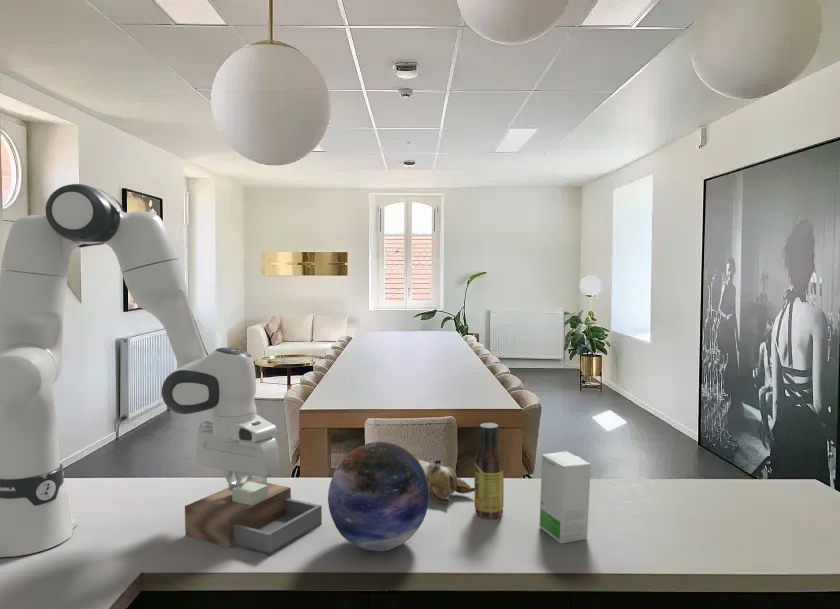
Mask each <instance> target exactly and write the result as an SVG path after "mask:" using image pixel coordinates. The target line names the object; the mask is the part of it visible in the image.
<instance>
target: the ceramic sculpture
mask: <svg viewBox="0 0 840 609" xmlns="http://www.w3.org/2000/svg"><path fill="white" fill-rule="evenodd" d="M416 460H417V461H418V462H419V463H420V465H421V466H422V468H423V470H424V472H425V475H426V478H427V482H428V491H429V494H431V495H432V497H433V499H435V500H436V501H438V502H439V503H440V502H441V503H448V502H450V500H451V499H450V496H452V495H453V494H454V493H455V492H456V493H457V494H458V493H459V494H468V493H473V492H475V487H471V486H470V485H469V484H468V482H466V481H465V480H463V479H461V478H460V477H457V474H456V472H455V470H454V469H453V468H451V467H450V466H448V465H445V464H443V462H442V461H441V460H440V459H439V460H434V461H431V462H428V461H426V460H422V459H421V458H416Z"/></svg>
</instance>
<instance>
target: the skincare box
mask: <svg viewBox="0 0 840 609" xmlns="http://www.w3.org/2000/svg"><path fill="white" fill-rule="evenodd" d="M540 481H541V482H540V501H539V503H540V504H539V528H540V529H541V530H542V531H543V532H545V533H547V534H548V535H549V536H550V537H551V538H552V539H555V541H556V542H558V543H559V544H560V545H561V544H569V543H573V542H578V541H584V540H587V539H588V530H589V528H588V526H589V525H588V524H589V505H590V486H591V485H590V484H591V463H590V462H587V461H586V460H584V459H582V458H581V457H580V456H578V455H574V454H573V453H571V452H570V451H565V450H564V451H559V452H552V453H551V452H550V453H544V454H543V453H542V454H541V478H540Z"/></svg>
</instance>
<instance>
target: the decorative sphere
mask: <svg viewBox="0 0 840 609" xmlns="http://www.w3.org/2000/svg"><path fill="white" fill-rule="evenodd" d="M331 477H332V478H331V480H330V483H329V487H328V490H327V491H328V494H327V504H328V510H329V514H330V517H331V519H332V522H333V524H334V526H335V528H336V529H337V531H338V533H339V534H340V536H342V537H343V538H344V539H345V540H346V541H347V542H349V543H351V544H352V545H354V546H355V547H357V548H360V549H363V550H365V551H370V552H384V551H391V549H395V548H398V547H400V546H401V545H403V544H404V543H406V542H407V541H409V540H410V539H411V538H413V536H414V534H415V533H416V532H417V531H418V530H419V528H420V526H421V525H422V524H423V522H424V520H425V518H426V514H427V512H428V508H429V498H430V497H429V496H430V495H429V494H430V492H429V491H428V482H427V478H426V475H425V472H424V470H423V468H422V466H421V465H420V463H419V462H418V461H417V458H416V457H415V456H414V455H413V454H412V453H411V452H410V451H408V450H407V449H406V448H404V447H402V446H400V445H398V444H396V443H392V442H387V441H376V442H368V443H366V444H362V445H360V446H357V448H355V449H353V450H352V451H350V452H349V453H348V454H347V455H346V456H344V458H343V459H342V460H341V461H340V462H339V463H338V465H337V467H336V469H335V470H334V472H333V475H332V476H331Z"/></svg>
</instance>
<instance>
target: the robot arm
mask: <svg viewBox="0 0 840 609" xmlns="http://www.w3.org/2000/svg"><path fill="white" fill-rule="evenodd" d="M5 242H6V243H5V246H4V249H3V254H2V259H1V265H0V558H5V557H6V558H7V557H19V556H25V555H31V554H34V553H38V552H42V551H45V550H49V549H50V548H53V547H56V546H58V545H60V544H62V543H63V542H66V541H67V540H68V539H69V538H70V537H72V534H73V531H74V529H75V527H76V526H78V524H79V523H78V522H79V521H78V518H75V517H73V514H72V507H71V506H72V505H71V499H70V492H69V488H68V487H66V486H64V485H63V484H64V483H65V482H64V480H65V479H64V476H65V471H64V467H63V464H61V455H60V454H61V452H60V448H61V447H60V428H59V426H60V425H59V424H58V418H57V414H56V406H55V400H54V389H53V388H54V384H55V383H56V381H57V380H58V379H59V376H60V374H61V369H62V356H63V355H62V354H63V338H64V336H63V335H64V311H65V303H66V301H65V300H66V295H67V294H66V293H67V286H68V285H67V284H68V275H69V265H70V259H71V255H72V254H73V251H74V250H75V249H76V248H86V247H93V246H100V245H105V244H106V245H107V246H108V247H110V248H111V250H112V251H113V252H114V254H115V256H116V259H117V262H118V264H119V267H120V271H121V273H122V274H121V275H122V277H123V280H124V284H125V286H126V288H127V290H128V292H129V294H130V296H131V298H132V299H133V301H134V303H135V304H136V305H137V306H138V307H139V308H141V309H143V310H144V311H146V312H147V313H149V314H151V315H152V316H154V317H155V318H156V319H157V320H158V321H159V322H160V324H161V325H162V326H163V329H164V330H165V332H166V336H167V338H168V340H169V343H170V346H171V349H172V351H173V354H174V356H175V360H176V369H174V370H173V371H172V372H171V373H170V374H169V375H168V376H166V377H165V380H164V381H163V383H162V386H161V397H162V398H161V399H162V400H163V403H164V405H166V407H167V408H169V410H170V411H172V412H174V413H175V414H181V415H191V414H195V413H200V412H204V411H207V410H211V411H212V422H210V421H203V422H202V423H200V425H199V426H198V428H197V430H198V435H197V437H196V446H195V460H196V462H197V464H198V465H199V466H203V467H209V468H214V469H220V470H223V476H224V478H225V480H226V482H227V483H228V487H227V488H228V489H229V491H232V489H233V488H236V487H238V486H240V485H243V484H245V482H246V480H247V478H248V476H249V475H253V476H259V477H263V478H266V477H267V478H269V477H271V476H273V475H276V474H277V472H278V470H279V467H280V458H279V457H280V455H279V447H278V442H277V440H276V438H275V437H274V436H276V435H277V426H276V425H275V424H273V423H272V422H270V421H268V420H266V419H264V418H263V416H261V415H259V414H258V410H257V405H256V403H255V396H256V391H257V379H256V378H257V375H256V366H255V363H254V359H253V357H252V355H251V354H250V353H249V352H248V351H246V350H243V349H242V348H241V349H239V348H235V347H218V348H216V349H215V350H214V351H213V352H211V353H210V354H209V353H208V351H207V349H206V347H205V345H204V342H203V339H202V337H201V334H200V330H199V328H198V324H197V323H196V320H195V319H196V318H195V317H194V314H193V311H192V308H191V304H190V299H189V294H188V289H187V284H186V280H185V274H184V271H183V267H182V263H181V261H180V257H179V254H178V251H177V248H176V246H175V243H174V240H173V239H172V236H171V235H170V232H169V230H168V229H167V226H166V224H165V223H164V221H163V220H162V218H161V217H160V216H159V215H158V214H156V213H154V212H151V211H145V210H139V211H132V212H126V211H125V209H124V208H123V206H122V204H121V202H119V201H118V199H116V198H114V197H113V196H111V195H110V194H109V193H107V192H106V191H104V190H102V189H100V188H96V187H91V186H89V185H87V184H83V183H72V184H71V183H70V184H66V185H63V186H59V188H57V189H56V190H54V191H53V192H52V193H51V194H50V195H49V197H48V199H47V201H46V203H45V215H41V214H31V215H25V216H22V217H19V218H18V219H16V220H15V221H14V222H13V223H12V225H11V227H10V229H9V233H8V235H7V239H6V241H5ZM235 472H237V477H239V479H238V481H237V480H236V477H235Z"/></svg>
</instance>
